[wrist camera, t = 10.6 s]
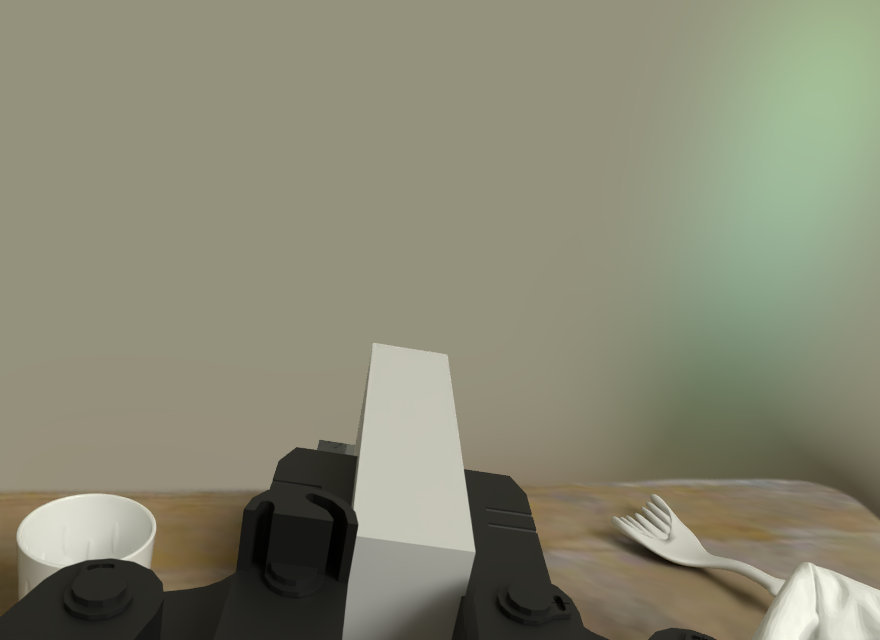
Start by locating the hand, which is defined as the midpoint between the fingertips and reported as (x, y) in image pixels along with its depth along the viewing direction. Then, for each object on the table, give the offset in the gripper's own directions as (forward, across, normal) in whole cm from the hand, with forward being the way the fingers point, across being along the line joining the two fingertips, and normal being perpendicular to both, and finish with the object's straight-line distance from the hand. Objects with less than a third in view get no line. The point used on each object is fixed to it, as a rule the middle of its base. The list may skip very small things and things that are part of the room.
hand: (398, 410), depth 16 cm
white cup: (+28, -16, -34) cm, 47 cm away
